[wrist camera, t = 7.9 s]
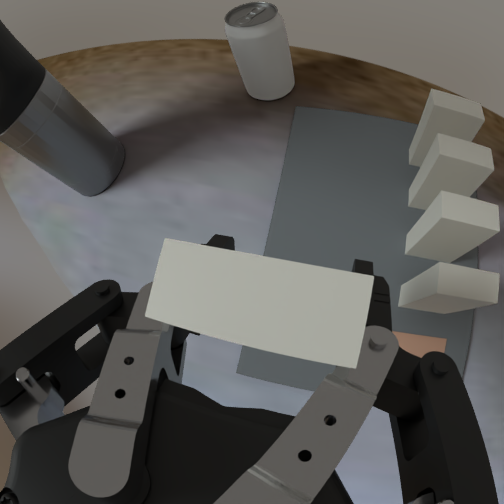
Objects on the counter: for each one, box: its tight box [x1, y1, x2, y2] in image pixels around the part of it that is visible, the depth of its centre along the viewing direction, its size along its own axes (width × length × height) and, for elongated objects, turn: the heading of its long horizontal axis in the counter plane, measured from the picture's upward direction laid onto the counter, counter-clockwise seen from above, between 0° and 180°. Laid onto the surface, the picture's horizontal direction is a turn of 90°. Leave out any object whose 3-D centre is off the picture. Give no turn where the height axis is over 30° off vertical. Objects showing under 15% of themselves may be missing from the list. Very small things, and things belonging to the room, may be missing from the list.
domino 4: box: [405, 190, 500, 263], centre depth 21 cm, size 5×2×10 cm, turn 77°
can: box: [225, 2, 295, 101], centre depth 30 cm, size 6×6×12 cm
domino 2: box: [409, 89, 485, 167], centre depth 23 cm, size 5×2×10 cm, turn 77°
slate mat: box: [236, 106, 478, 391], centre depth 28 cm, size 22×30×1 cm
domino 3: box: [408, 133, 494, 210], centre depth 22 cm, size 5×2×10 cm, turn 77°
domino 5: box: [398, 262, 500, 314], centre depth 20 cm, size 5×2×10 cm, turn 77°
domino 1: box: [145, 238, 374, 369], centre depth 11 cm, size 5×2×10 cm, turn 77°
